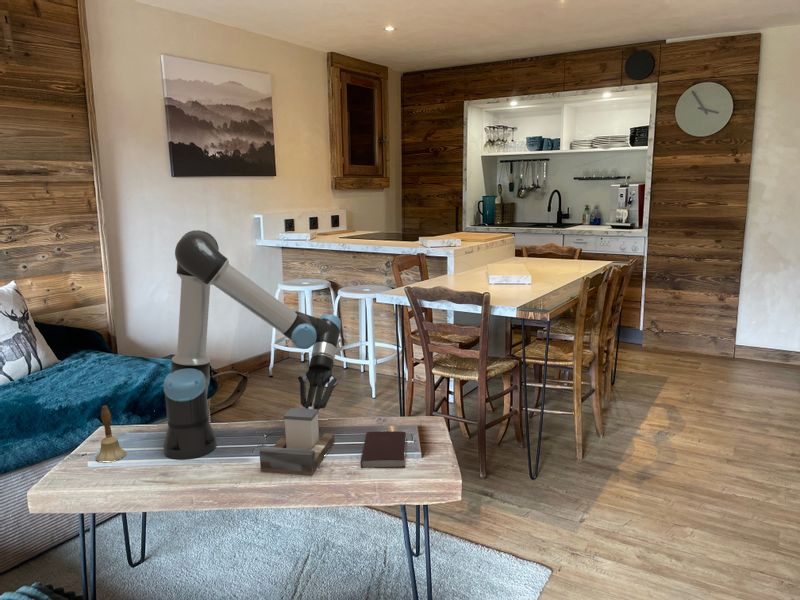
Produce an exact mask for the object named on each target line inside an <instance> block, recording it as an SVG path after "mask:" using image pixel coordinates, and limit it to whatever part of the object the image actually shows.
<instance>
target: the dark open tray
mask: <svg viewBox="0 0 800 600" xmlns="http://www.w3.org/2000/svg"><path fill="white" fill-rule="evenodd" d="M334 442H335V433H331V432H324V433H323V435H322V436H321V437H320V438H319V441H318V443H317V444H316V445H315V446H314V447H313V449H312V450H303V449H290V448H286V432H285V433H284V434H283V435H282V436H281V437H280V438H279V440H278V441H277V442H276V443H275V444H274V445H273V446H263V447H261V449H259V462H260V463H259V464H260V467H259V468H260V472H264V473H265V472H266V473H278V474H279V473H280V474H289V475H290V474H291V475H302V476H313V475H314V473H315V472H316V471H317V470H318V467H319V466H320V465H321V463H322V462H323V460H324V459H325V457H324V455H325V454H326V453H327V452H328V450H329V449H330V448H331V449H332V447H333V446H334V444H335V443H334ZM333 443H334V444H333ZM332 445H333V446H332ZM331 446H332V447H331ZM331 449H330V450H331ZM330 450H329V451H330ZM328 453H329V452H328ZM328 453H327V454H328ZM323 458H324V459H323Z"/></svg>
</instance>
